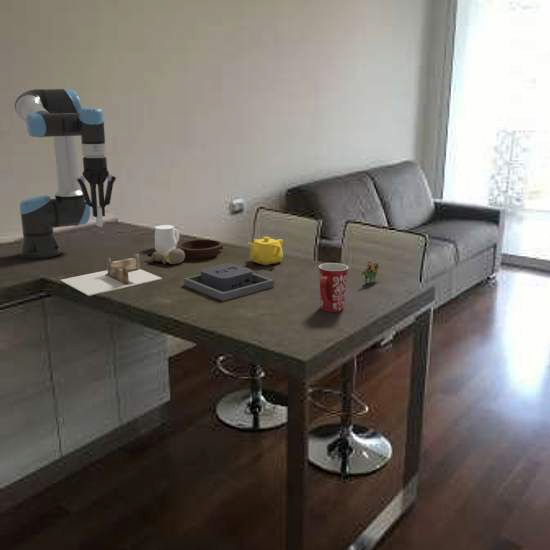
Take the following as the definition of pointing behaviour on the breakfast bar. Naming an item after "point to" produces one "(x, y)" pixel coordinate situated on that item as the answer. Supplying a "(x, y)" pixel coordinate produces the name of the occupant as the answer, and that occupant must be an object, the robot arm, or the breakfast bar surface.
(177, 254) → the toy
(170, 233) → the mug
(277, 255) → the teapot
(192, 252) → the dish
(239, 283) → the streaming box
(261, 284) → the speaker coaster
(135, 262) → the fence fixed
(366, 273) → the figurine
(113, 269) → the bar
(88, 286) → the card
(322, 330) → the breakfast bar surface
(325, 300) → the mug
